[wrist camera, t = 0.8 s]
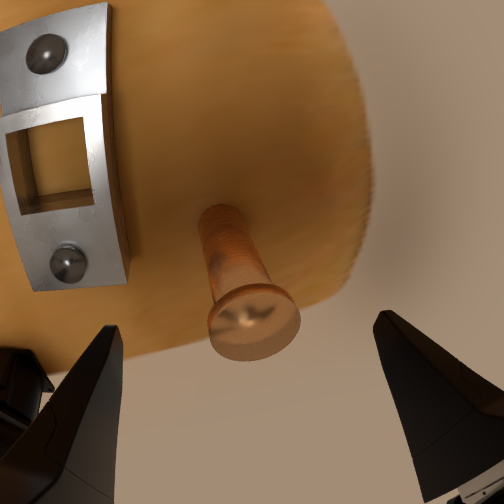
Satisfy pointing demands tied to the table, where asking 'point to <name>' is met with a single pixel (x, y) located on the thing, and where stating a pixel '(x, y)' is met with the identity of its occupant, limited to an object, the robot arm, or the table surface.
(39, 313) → the table surface
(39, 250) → the slotted metal plate
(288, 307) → the pin
